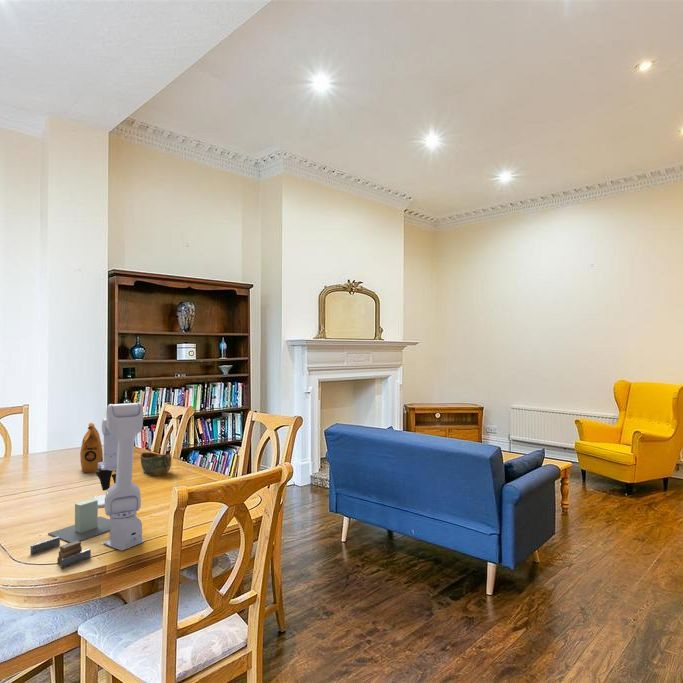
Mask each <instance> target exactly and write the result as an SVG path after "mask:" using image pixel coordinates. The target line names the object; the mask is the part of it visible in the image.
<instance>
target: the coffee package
mask: <svg viewBox="0 0 683 683" xmlns="http://www.w3.org/2000/svg"><path fill="white" fill-rule="evenodd" d="M100 436H101V435H100V433H99V431H98V429H97V428H96V427H95V423H93V422H90V423H88V427H87V431H86V433H85V434H84V436H83V438H82V443H81V447H80V452H79V453H80V454H79V455H80V466H81V472H82V473H85V474H86V473H96V471H98V470H99V469H98V463H100V462H104V452H103V447H102V446H103V445H102V441H101V437H100Z"/></svg>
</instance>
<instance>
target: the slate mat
mask: <svg viewBox="0 0 683 683" xmlns="http://www.w3.org/2000/svg"><path fill="white" fill-rule="evenodd" d="M108 532H110V518H106V517H103V516H98V527H96V528H94V529H91V530H88V531H85V532H82V533H79V532H76V531H75V524H73V525H70V526H69V525H68V526H66V527H63V528H59V529H57V530H53V531H51V532H47V533H48V534H47V535H49V536H52V538H55V537H60V541H64V542H66V543H67V544H68V543H71V542H74V541H79V542H82V541H85V540H88V539H91V538H94V537H97V536H99V535H102V534H105V533H108Z"/></svg>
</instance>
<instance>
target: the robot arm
mask: <svg viewBox="0 0 683 683" xmlns="http://www.w3.org/2000/svg"><path fill="white" fill-rule="evenodd" d="M105 414H106V418H102V422H101V433H102V436H103V462H100V463H98V469H99V470H98V471H96V472H95V474H96V476H97V477H98V479H99V483H100V486H101V490H102V491H104V492H105V495H106V497H105V507H104V513H105V515H106V516H107V517H109V519H110V531H109V540H106V541H104V542H103V545H105V546H109V547H111V548H113V549H116V550H118V551H125V550H127V549H129V548H132V547H134V546H137V545H140V544H142V543H144V542H145V539H143V538H142V537H143V532H142V531H143V523H142V520H141V519H140V518H139V517H137V514H138V513H137V512H138V511H139V510H140V509H141V506H142V504H141V503H142V502H141V501H142V500H141V499H142V498H141V489H140V487H139V485H137V483H134V482H133V465H134V451H135V450H134V449H135V442H136V437H137V435H139V433H141V432H142V431H143V430H142V429H143V426H144V424H143V423H144V407H143V404H142V403H141V402H130V403H115V404H113V403H109V404H108V405H107V406H106V412H105ZM113 472H115V473H113ZM111 479H112V480H113V484H112V485H111Z"/></svg>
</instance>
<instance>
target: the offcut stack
mask: <svg viewBox="0 0 683 683" xmlns="http://www.w3.org/2000/svg"><path fill="white" fill-rule="evenodd" d="M81 543H82V541H80V542H79V541H74V542H71V543H68V542H67V543H65V544H63V545H59V546H60V548H59V551H58V557H57V562H56V563H57V565H60V566H61V559H62V558H65V557H67V556H70V555H73V554H75V553H78V552H81V551H83V550H82V549H83V547H82V544H81Z"/></svg>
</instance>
